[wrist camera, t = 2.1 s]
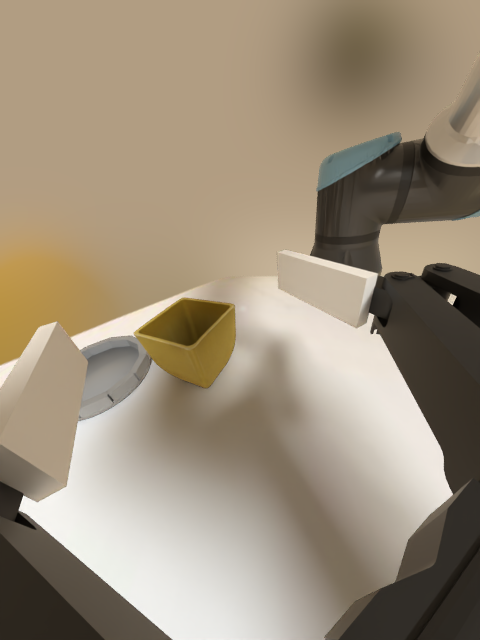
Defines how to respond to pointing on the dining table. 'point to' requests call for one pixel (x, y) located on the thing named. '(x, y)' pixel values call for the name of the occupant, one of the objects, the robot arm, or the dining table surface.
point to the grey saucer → (112, 373)
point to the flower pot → (191, 339)
